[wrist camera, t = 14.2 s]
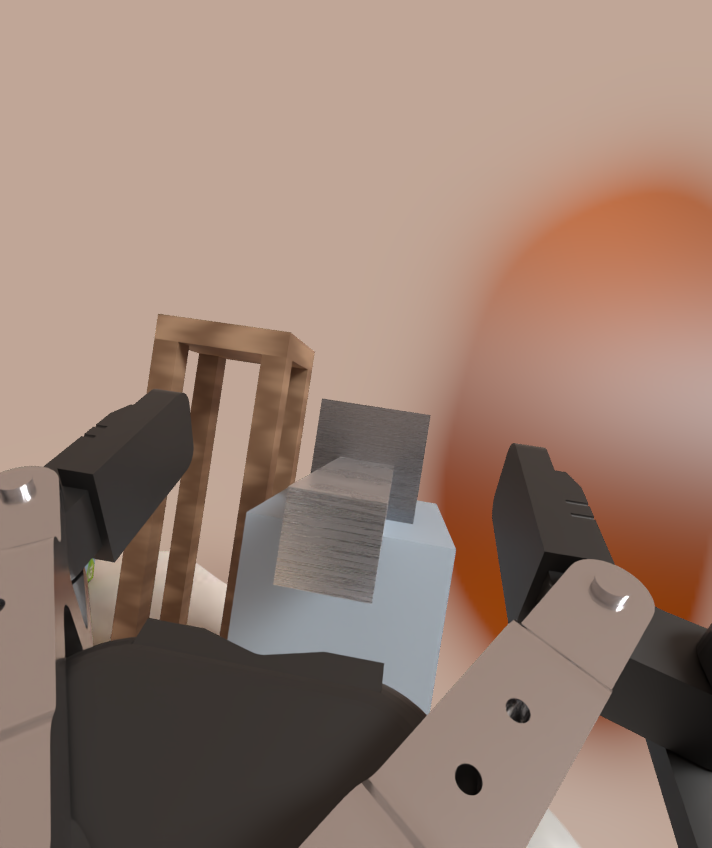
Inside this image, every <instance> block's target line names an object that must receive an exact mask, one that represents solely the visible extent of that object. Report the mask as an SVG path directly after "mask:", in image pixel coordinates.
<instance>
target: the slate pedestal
mask: <svg viewBox="0 0 712 848" xmlns="http://www.w3.org/2000/svg"><path fill="white" fill-rule="evenodd" d="M287 490H288V488H287V489H285V490H283V491H281V492H280V493H278V494H276V495H275V496H273V497H271V498H270V499H268V500H266V501H265V502H263V503H261V504H259V505H258V506H256V507H254V508H253V509H251V510H249V511H248V512H247V513H246V520H245V526H244V533H243V540H242V546H241V553H240V559H239V566H238V573H237V579H236V586H235V592H234V599H233V606H232V612H231V619H230V626H229V632H228V639H227V640H229V641H231V642H233V643H235V644H237V645H239V646H241V647H243V648H245V649H247V650H249V651H251V652H253V653H256V654H260V655H271V654H290V653H309V652H329V653H334V654H339V655H344V656H350V657H355V658H360V659H365V660H371V661H376V662H381V663H384V671H383V681H382V683H383V684H385V685H387V686H389V687H391V688H393V689H395V690H396V691H398V692H399V693H401V694H402V695H404V696H406V697H407V698H408V699H410V700H411V701H412V702H413V703H414V704H416V705H417V706H418V707H419V708H421V710H422V711H423V712H424V713H425V714H426V715H428V714H429V713H430V707H431V701H432V695H433V689H434V682H435V676H436V670H437V664H438V658H439V651H440V645H441V639H442V633H443V626H444V620H445V614H446V608H447V602H448V595H449V589H450V583H451V576H452V570H453V564H454V558H455V552H456V549H455V546H454V544H453V542H452V539H451V537H450V535H449V532H448V530H447V528H446V525H445V523H444V521H443V519H442V516H441V514H440V511H439V509H438V507H437V505H436V504H434V503H428V502H422V501H417V503H416V509H415V516H414V522H413V524H408V523H403V522H397V521H391V520H386V522H385V528H384V534H383V540H382V546H381V552H380V557H379V563H378V569H377V575H376V581H375V587H374V593H373V599H372V604H369V603H364V602H359V601H353V600H348V599H343V598H338V597H333V596H328V595H323V594H317V593H312V592H307V591H302V590H297V589H292V588H286V587H281V586H276V585H273V582H274V575H275V569H276V562H277V556H278V549H279V543H280V536H281V529H282V523H283V516H284V510H285V503H286V497H287Z"/></svg>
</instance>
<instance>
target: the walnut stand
mask: <svg viewBox="0 0 712 848" xmlns="http://www.w3.org/2000/svg"><path fill="white" fill-rule="evenodd" d="M189 350H191V351H194V352H197V353H199V359H198V365H197V372H196V379H195V386H194V393H193V400H192V406H191V413H190V415H191V425H192V434H193V444H194V451H193V457H192V461H191V463H190V466H189V468H188V469H187V471H186V472H185V473H184V475H183V476H182V477H181V480H180V487H179V494H178V501H177V507H176V514H175V521H174V528H173V534H172V541H171V548H170V555H169V561H168V568H167V575H166V582H165V588H164V595H163V602H162V609H161V615H160V620H162V621H167V622H173V623H178V624H183V625H187V618H188V611H189V604H190V598H191V591H192V584H193V578H194V571H195V564H196V558H197V551H198V544H199V537H200V531H201V524H202V517H203V511H204V504H205V497H206V490H207V484H208V477H209V470H210V464H211V457H212V450H213V443H214V437H215V430H216V423H217V417H218V410H219V403H220V397H221V390H222V383H223V377H224V370H225V363H226V359H230V360H237V361H244V362H250V363H257V364H261V366H260V372H259V378H258V385H257V392H256V398H255V405H254V412H253V418H252V425H251V432H250V439H249V445H248V451H247V458H246V465H245V471H244V478H243V485H242V492H241V498H240V504H239V511H238V518H237V524H236V531H235V538H234V544H233V551H232V558H231V565H230V571H229V577H228V584H227V591H226V597H225V604H224V611H223V617H222V624H221V631H220V637H222V638H225V639H228V632H229V626H230V619H231V612H232V606H233V599H234V592H235V586H236V579H237V573H238V566H239V559H240V553H241V546H242V540H243V533H244V526H245V520H246V513H247V512H248V511H249V510H251V509H253V508H254V507H256V506H258V505H259V504H261V503H263V502H265V501H266V500H268V499H270V498H271V497H273V496H275V495H276V494H278V493H280V492H281V491H283V490H285V489H287V488H288V486H290V485H291V484H293V483H295V477H296V471H297V464H298V458H299V451H300V445H301V438H302V432H303V425H304V418H305V411H306V405H307V399H308V392H309V386H310V379H311V373H312V366H313V360H314V353H315V352H314V351H313V350H312V349H310V348H309V347H308V346H307V345H305V344H304V343H303V342H302V341H300V340H299V339H298V338H297V337H295V336H294V335H293V334H291V333H290V332H284V331H277V330H270V329H263V328H255V327H248V326H241V325H234V324H227V323H220V322H212V321H206V320H198V319H192V318H185V317H177V316H170V315H163V314H158V319H157V326H156V333H155V340H154V347H153V353H152V360H151V367H150V374H149V381H148V388H147V393H148V392H150V391H151V390H152V389H161V390H167V391H174V392H181V393H182V391H183V384H184V378H185V371H186V364H187V357H188V351H189ZM166 500H167V496H166V497H165V499H164V500H163V501H162V502H161V504H160V505H159V506H158V508H157V509H156V510H155V511H154V513H153V514H152V515H151V516H150V518H149V519H148V520H147V522H146V523H145V524H144V525H143V527H142V528H141V529H140V530H139V532H138V533H137V534H136V536H135V537H134V538H133V539H132V541H131V542H130V543H129V544H128V546H127V547H126V548H125V550H124V552H123V559H122V566H121V573H120V579H119V586H118V593H117V600H116V607H115V614H114V621H113V627H112V634H111V641H113V640H117V639H123V638H129V637H137V635H138V634H139V632H140V630H141V629H142V627H143V625H144V624H145V622H146V621H147V619H148V618H149V615H150V608H151V602H152V595H153V588H154V581H155V574H156V568H157V561H158V554H159V547H160V541H161V533H162V527H163V520H164V513H165V507H166Z"/></svg>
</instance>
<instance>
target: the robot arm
mask: <svg viewBox="0 0 712 848" xmlns="http://www.w3.org/2000/svg"><path fill="white" fill-rule="evenodd" d="M193 451H194V444H193V434H192V425H191V415H190V406H189V400H188V397H187V395H186V394H185V393H181V392H174V391H167V390H161V389H152V390H151V391H150V392H148V393H147V394H146V395H145V396H144V397H143V398H141V399H140V400H139V401H138V402H136V403H135V404H134V405H129V406H126V407H124V408H121V409H119V410H117V411H114V412H112V413H110V414H109V415H108V416H106V417H105V418H104V419H103V420H101V421H100V422H99V423H97V424H96V427H92V428H91V429H90V430H89V431H87V433H85V435H84V437H82V436H81V437H80V438H79V439H77V440H76V441H75V442H74V443H72V444H71V445H70V446H69V447H67V448H66V449H65V450H64V451H62V452H61V453H60V454H59V455H58V456H56V457H55V458H54V459H52V460H51V461H50V462H49V463H48V464H46V465H45V466H44V467H39V466H25V467H19V468H14V469H10V470H7V471H3V472H1V473H0V848H526V846H527V845H528V843H529V841H530V839H531V837H532V836H533V834H534V832H535V830H536V828H537V827H538V825H539V823H540V821H541V819H542V818H543V816H544V814H545V812H546V810H547V809H548V807H549V805H550V803H551V801H552V800H553V798H554V796H555V794H556V792H557V791H558V789H559V787H560V785H561V783H562V782H563V780H564V778H565V776H566V774H567V773H568V771H569V769H570V767H571V765H572V764H573V762H574V760H575V758H576V756H577V754H578V753H579V751H580V749H581V748H582V746H583V744H584V742H585V740H586V739H587V736H588V735H589V733H590V731H591V730H592V728H593V726H594V724H595V722H596V721H597V719H598V717H599V715H601V716H603V717H604V718H607V719H608V720H610V721H612V722H614V723H616V724H619V725H620V726H622V727H625V728H626V729H628V730H631V731H632V732H634V733H636V734H638V735H640V736H642V737H644V738H645V739H646V742H647V745H648V749H649V752H650V755H651V758H652V762H653V765H654V768H655V772H656V775H657V778H658V782H659V785H660V788H661V792H662V795H663V798H664V802H665V805H666V808H667V812H668V815H669V818H670V821H671V825H672V828H673V831H674V835H675V838H676V841H677V845H678V848H712V624H711V625H710V626H709V628H708V629H706V628H704V627H701V626H699V625H696V624H694V623H692V622H689V621H687V620H684V619H682V618H679V617H677V616H675V615H672V614H670V613H667V612H665V611H663V610H661V609H658V608H657V607H655V606H654V601H653V599H652V597H651V595H650V593H649V592H648V590H647V589H646V588H645V586H644V585H643V584H642V583H641V582H639V580H638V579H637V578H635V577H634V576H633V575H631V574H630V573H628V572H627V571H625V570H624V569H622V568H620V567H618V566H616V565H615V564H614V562H613V559H612V557H611V555H610V553H609V550H608V548H607V546H606V543H605V541H604V539H603V536H602V534H601V532H600V529H599V527H598V525H597V523H596V520H594V516H593V513H592V511H591V509H590V507H589V506H588V502H587V500H586V497H585V495H584V493H583V490H582V488H581V487H580V486H579V485H578V484H577V483H576V482H575V481H574V480H573V479H572V478H571V477H570V476H569V475H568V474H567V473H566V472H561V471H555V470H554V468H553V465H552V462H551V460H550V457H549V454H548V452H547V450H546V449H545V448H542V447H535V446H529V445H522V444H515V443H513V444H512V445H511V446H510V448H509V450H508V453H507V456H506V460H505V463H504V466H503V469H502V473H501V476H500V479H499V483H498V486H497V489H496V493H495V496H494V502H493V510H492V519H493V526H494V533H495V539H496V546H497V552H498V559H499V565H500V572H501V578H502V585H503V591H504V597H505V604H506V611H507V617H508V625H507V626H506V627H505V629H504V630H503V631H502V632H501V633H500V634H499V635H498V636H497V637H496V639H495V640H494V641H493V642H492V643H491V644H490V645H489V646H488V648H487V649H486V650H485V651H484V652H483V653H482V654H481V655H480V657H479V658H478V659H477V660H476V661H475V662H474V663H473V664H472V665H471V667H470V668H469V669H468V670H467V671H466V672H465V674H463V676H462V677H461V678H460V679H459V680H458V681H457V682H456V684H455V685H454V686H453V687H452V688H451V689H450V691H448V693H447V694H446V695H445V696H444V697H443V698H442V699H441V700H440V702H439V703H438V704H437V705H436V706H435V707H434V708H433V709H432V710H431V712H430V713H429V714H428V715H426V714H425V713H424V712H423V711H422V710H421V708H419V707H418V706H417V705H416V704H414V703H413V702H412V701H411V700H410V699H408V698H407V697H406V696H404V695H402V694H401V693H399V692H398V691H396V690H395V689H393V688H391V687H389V686H387V685H385V684H383V683H382V681H383V671H384V663H381V662H376V661H371V660H365V659H360V658H355V657H350V656H344V655H339V654H334V653H329V652H309V653H290V654H271V655H260V654H256V653H253V652H251V651H249V650H247V649H245V648H243V647H241V646H239V645H237V644H235V643H233V642H231V641H229V640H227V639H225V638H222V637H220V636H218V635H216V634H214V633H212V632H210V631H208V630H206V629H204V628H199V627H193V626H188V625H183V624H178V623H173V622H167V621H162V620H157V619H152V618H148V619H147V621H146V622H145V624H144V625H143V627H142V629H141V630H140V632H139V634H138V635H137V637H129V638H123V639H117V640H113V641H109V642H105V643H101V644H98V645H95V646H94V645H93V636H92V625H91V613H90V602H89V591H88V580H87V574H86V570H85V566H86V565H87V564H88V563H89V561H90V560H91V559H92V558H93V559H99V560H104V561H110V562H115V561H116V560H117V558H118V557H119V556H120V555H121V553H122V552H123V551H124V550H125V548H126V547H127V546H128V544H129V543H130V542H131V541H132V539H133V538H134V537H135V536H136V534H137V533H138V532H139V530H140V529H141V528H142V527H143V525H144V524H145V523H146V522H147V520H148V519H149V518H150V516H151V515H152V514H153V513H154V511H155V510H156V509H157V508H158V506H159V505H160V504H161V502H162V501H163V500H164V499H165V497H166V496H167V495H168V494H169V492H170V491H171V490H172V488H173V487H174V486H175V485H176V483H177V482H178V481H179V480H180V478H181V477H182V476H183V475H184V473H185V472H186V471H187V469H188V468H189V466H190V463H191V461H192V457H193Z"/></svg>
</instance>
